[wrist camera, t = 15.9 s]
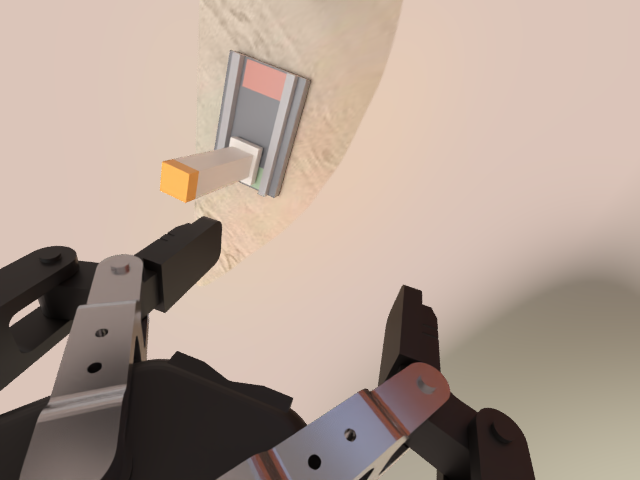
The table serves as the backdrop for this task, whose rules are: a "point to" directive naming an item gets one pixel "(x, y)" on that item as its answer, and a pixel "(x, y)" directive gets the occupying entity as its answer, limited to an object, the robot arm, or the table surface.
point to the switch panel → (262, 115)
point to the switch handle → (211, 170)
